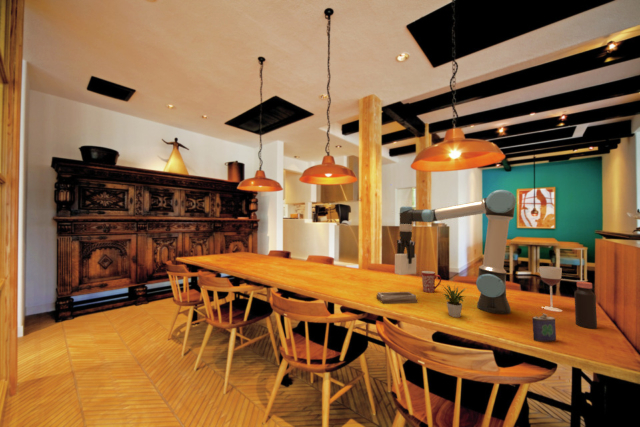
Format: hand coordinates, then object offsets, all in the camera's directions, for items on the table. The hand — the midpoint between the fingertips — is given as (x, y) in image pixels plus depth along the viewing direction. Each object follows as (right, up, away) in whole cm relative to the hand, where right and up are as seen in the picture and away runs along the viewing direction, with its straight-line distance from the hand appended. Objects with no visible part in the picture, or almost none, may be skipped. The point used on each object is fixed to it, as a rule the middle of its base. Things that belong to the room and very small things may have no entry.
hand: (405, 268), depth 155 cm
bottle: (+70, -18, -40) cm, 83 cm away
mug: (+25, -21, +18) cm, 37 cm away
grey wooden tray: (-6, -19, -2) cm, 21 cm away
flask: (+38, -17, -55) cm, 69 cm away
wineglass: (+77, -20, -16) cm, 81 cm away
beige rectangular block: (0, -3, 0) cm, 3 cm away
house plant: (+15, -19, -27) cm, 36 cm away
